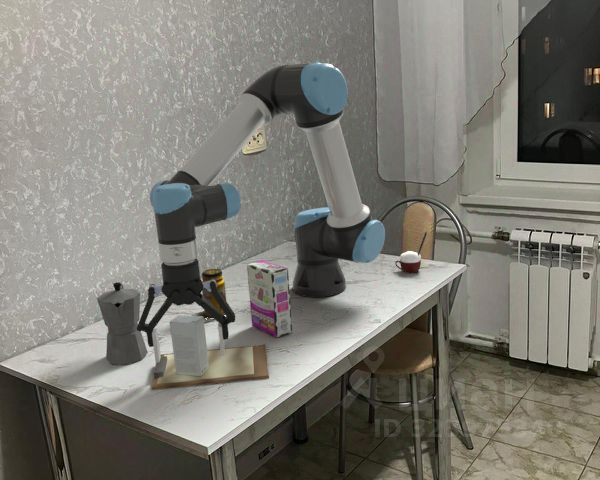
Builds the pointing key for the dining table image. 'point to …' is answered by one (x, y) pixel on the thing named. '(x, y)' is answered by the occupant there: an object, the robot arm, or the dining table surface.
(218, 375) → the clipboard
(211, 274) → the condiment
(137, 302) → the coffeepot
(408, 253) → the cocoa
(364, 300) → the dining table surface
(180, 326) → the skincare box
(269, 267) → the candy bar box
